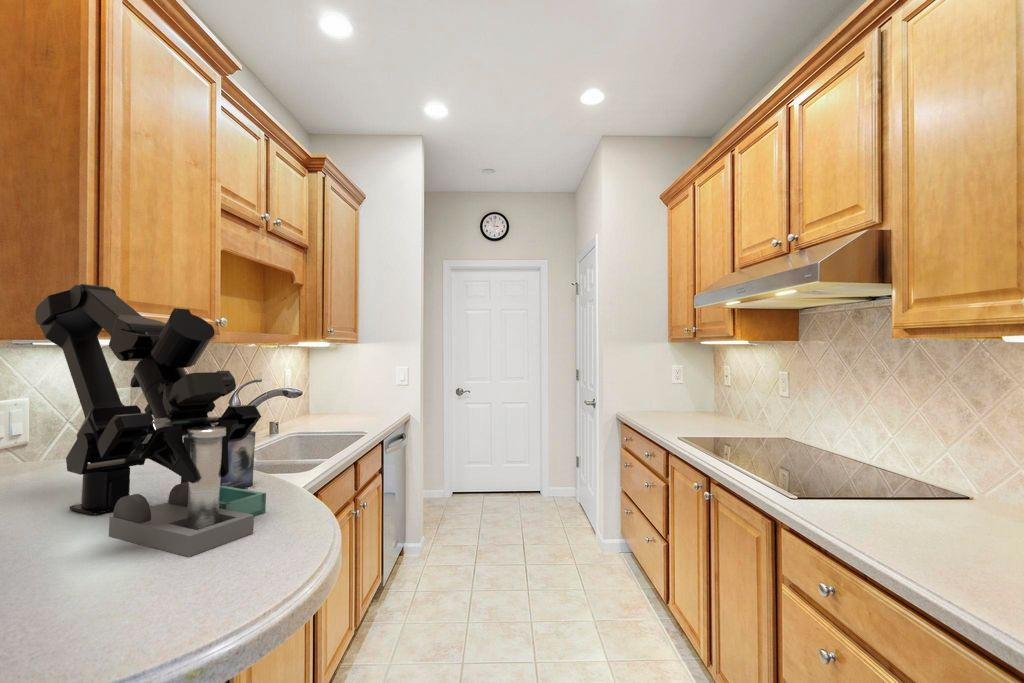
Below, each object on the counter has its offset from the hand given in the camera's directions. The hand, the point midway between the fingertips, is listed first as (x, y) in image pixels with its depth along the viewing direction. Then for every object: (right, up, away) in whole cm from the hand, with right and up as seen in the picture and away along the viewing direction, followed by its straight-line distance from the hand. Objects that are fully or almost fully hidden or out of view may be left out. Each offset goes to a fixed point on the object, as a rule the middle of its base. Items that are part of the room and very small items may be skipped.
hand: (211, 478), depth 65 cm
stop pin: (-1, -8, 0) cm, 8 cm away
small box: (-13, -9, +23) cm, 28 cm away
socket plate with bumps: (-5, -8, +2) cm, 10 cm away
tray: (-5, -9, +11) cm, 14 cm away
